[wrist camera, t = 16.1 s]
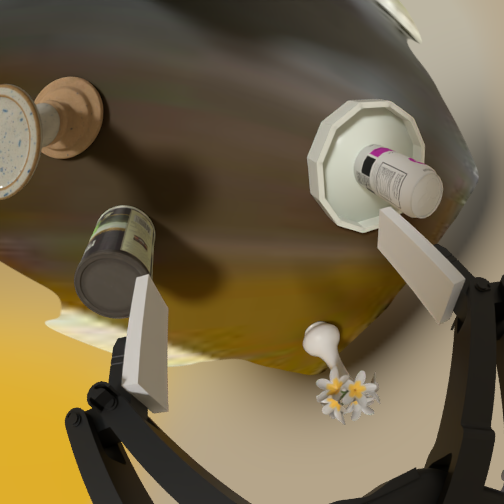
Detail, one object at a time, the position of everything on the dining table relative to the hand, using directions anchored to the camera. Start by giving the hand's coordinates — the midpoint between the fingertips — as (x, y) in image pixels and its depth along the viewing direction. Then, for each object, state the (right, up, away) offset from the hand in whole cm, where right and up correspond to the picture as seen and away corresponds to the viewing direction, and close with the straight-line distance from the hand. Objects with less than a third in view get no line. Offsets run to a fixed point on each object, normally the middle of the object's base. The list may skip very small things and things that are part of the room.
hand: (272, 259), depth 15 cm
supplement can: (+20, +16, +32) cm, 41 cm away
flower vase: (+14, -19, +53) cm, 58 cm away
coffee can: (-22, +3, +28) cm, 36 cm away
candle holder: (-28, +20, +16) cm, 38 cm away
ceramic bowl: (+20, +16, +33) cm, 42 cm away
